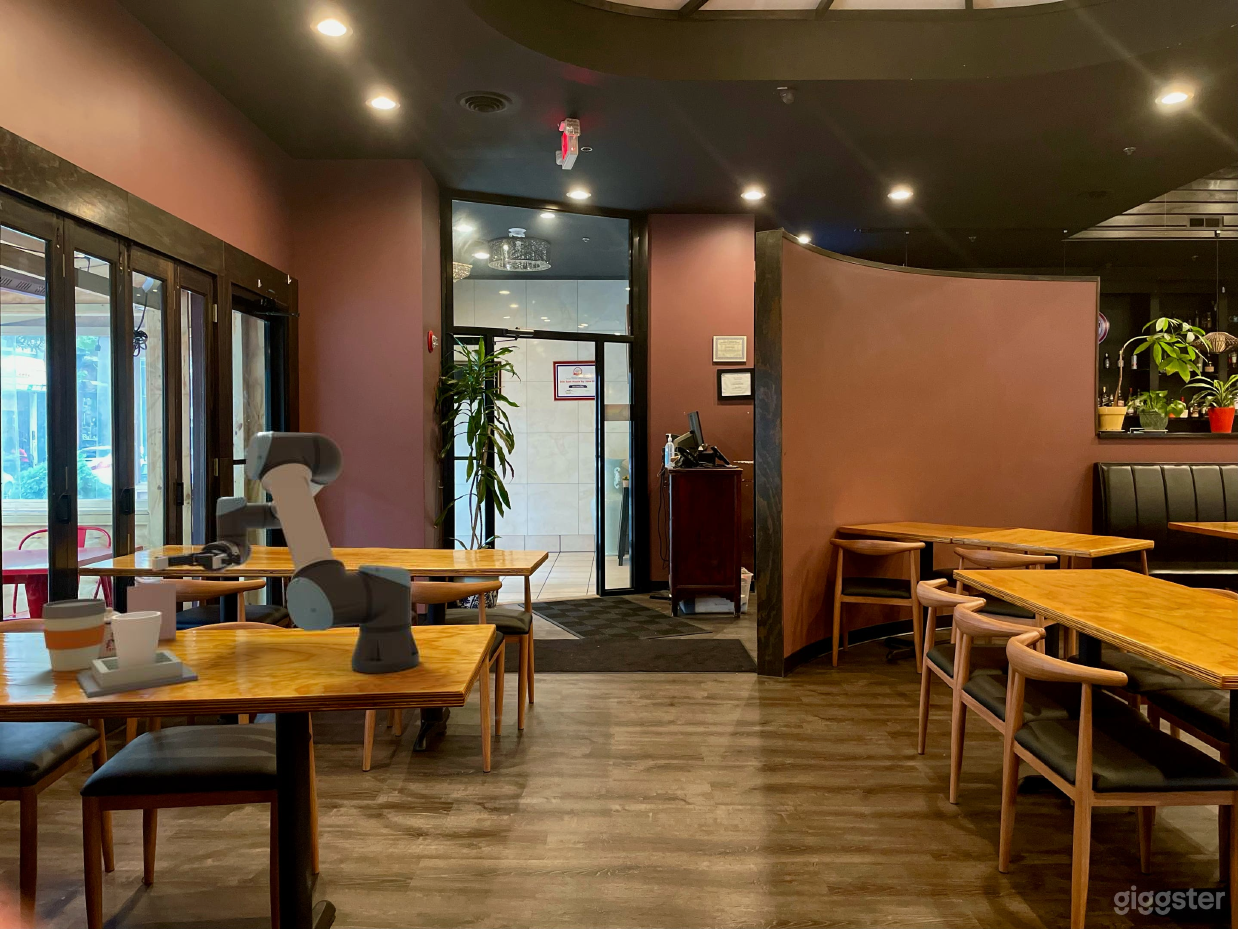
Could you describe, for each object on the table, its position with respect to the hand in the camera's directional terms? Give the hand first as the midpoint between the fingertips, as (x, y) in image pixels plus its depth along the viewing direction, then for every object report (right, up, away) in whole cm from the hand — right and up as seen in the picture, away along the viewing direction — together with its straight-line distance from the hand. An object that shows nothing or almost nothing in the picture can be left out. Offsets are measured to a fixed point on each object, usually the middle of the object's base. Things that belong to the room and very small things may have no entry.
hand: (184, 563), depth 188 cm
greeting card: (-24, -24, +27) cm, 44 cm away
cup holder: (-2, -23, -15) cm, 28 cm away
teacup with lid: (-24, -24, +11) cm, 36 cm away
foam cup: (-2, -23, -15) cm, 27 cm away
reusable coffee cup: (-25, -24, -2) cm, 34 cm away
